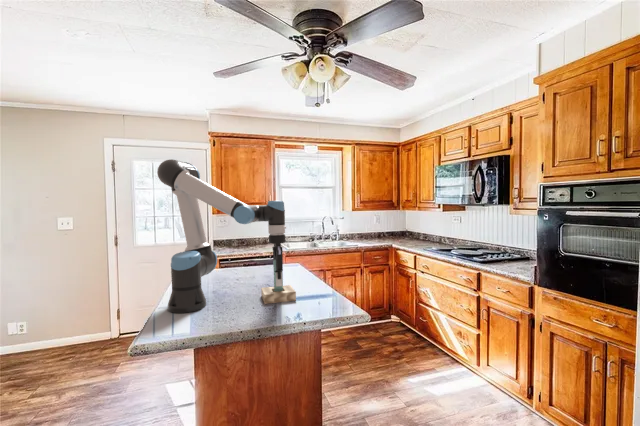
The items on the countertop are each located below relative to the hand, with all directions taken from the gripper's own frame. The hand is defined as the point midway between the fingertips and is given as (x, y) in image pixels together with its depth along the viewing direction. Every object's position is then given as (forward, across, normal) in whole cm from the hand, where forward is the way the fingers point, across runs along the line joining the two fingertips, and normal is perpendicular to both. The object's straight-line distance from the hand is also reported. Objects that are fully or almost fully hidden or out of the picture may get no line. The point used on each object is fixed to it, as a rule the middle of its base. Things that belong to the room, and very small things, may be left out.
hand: (278, 284), depth 146 cm
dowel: (+3, 0, 0) cm, 3 cm away
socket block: (+6, 0, 0) cm, 6 cm away
